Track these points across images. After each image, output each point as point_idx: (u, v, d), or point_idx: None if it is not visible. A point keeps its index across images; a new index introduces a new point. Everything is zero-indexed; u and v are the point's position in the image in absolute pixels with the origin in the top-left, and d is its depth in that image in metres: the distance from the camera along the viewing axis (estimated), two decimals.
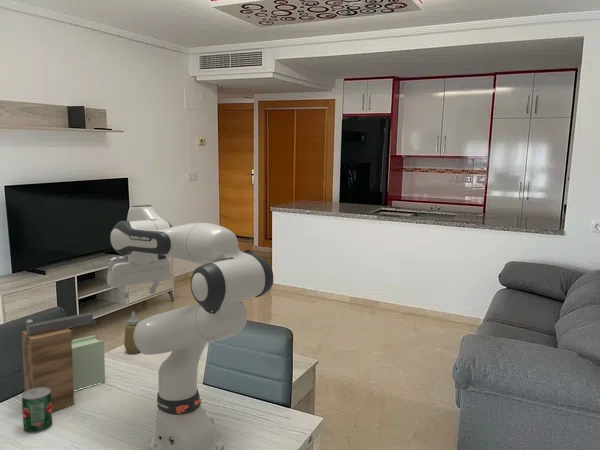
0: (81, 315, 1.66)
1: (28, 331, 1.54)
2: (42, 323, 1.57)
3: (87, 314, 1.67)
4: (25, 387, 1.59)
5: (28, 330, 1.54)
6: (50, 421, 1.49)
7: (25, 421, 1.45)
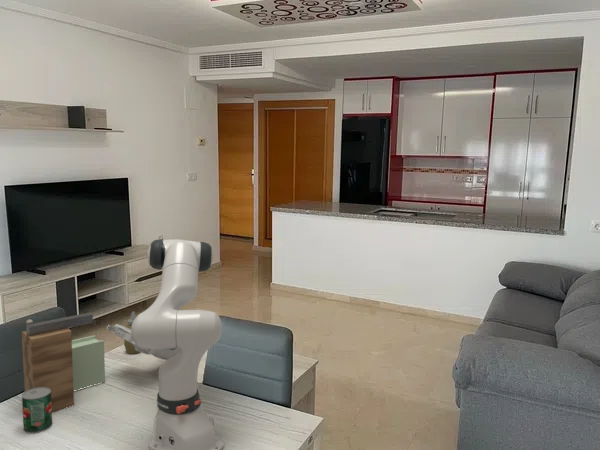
0: (81, 315, 1.66)
1: (28, 331, 1.54)
2: (42, 323, 1.57)
3: (87, 314, 1.67)
4: (25, 387, 1.59)
5: (28, 330, 1.54)
6: (50, 421, 1.49)
7: (25, 421, 1.45)
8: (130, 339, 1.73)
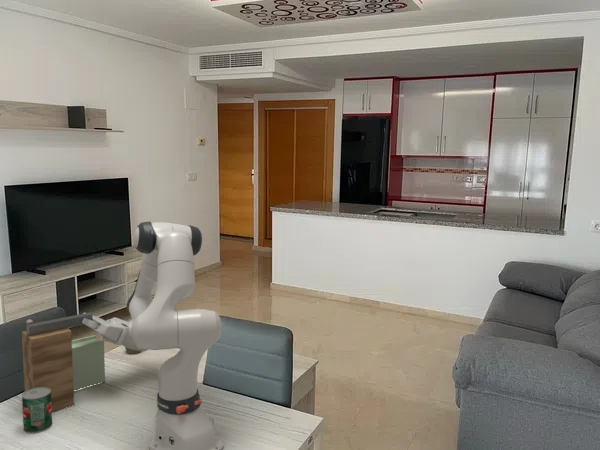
0: (81, 315, 1.66)
1: (28, 331, 1.54)
2: (42, 323, 1.57)
3: (87, 314, 1.67)
4: (25, 387, 1.59)
5: (28, 330, 1.54)
6: (50, 421, 1.49)
7: (25, 421, 1.45)
8: (93, 326, 1.66)
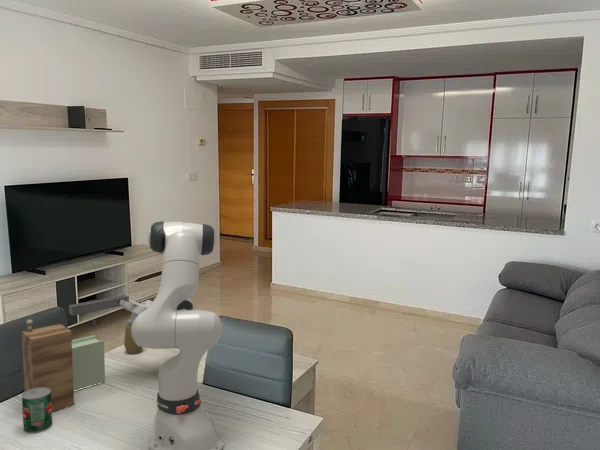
0: (118, 297, 1.75)
1: (71, 311, 1.63)
2: (84, 303, 1.66)
3: (124, 296, 1.76)
4: (25, 387, 1.59)
5: (71, 310, 1.63)
6: (50, 421, 1.49)
7: (25, 421, 1.45)
8: (130, 307, 1.75)
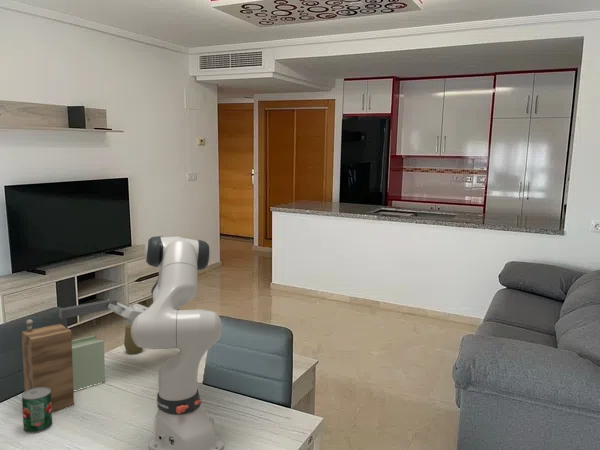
0: (107, 301, 1.81)
1: (60, 314, 1.70)
2: (73, 307, 1.73)
3: (112, 300, 1.83)
4: (25, 387, 1.59)
5: (60, 313, 1.69)
6: (50, 421, 1.49)
7: (25, 421, 1.45)
8: (118, 311, 1.81)
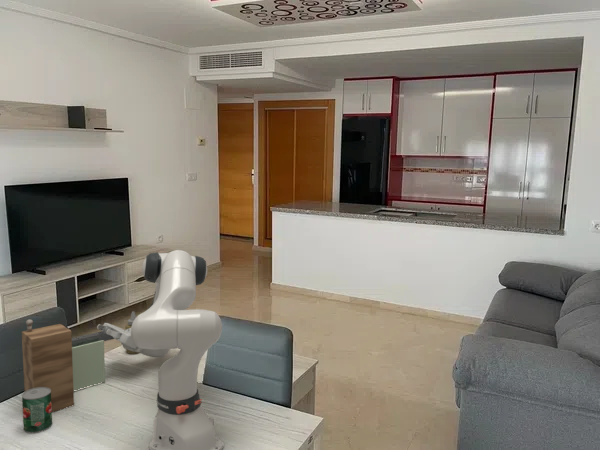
0: (104, 332, 1.82)
1: None
2: None
3: None
4: (25, 387, 1.59)
5: None
6: (50, 421, 1.49)
7: (25, 421, 1.45)
8: (116, 336, 1.80)
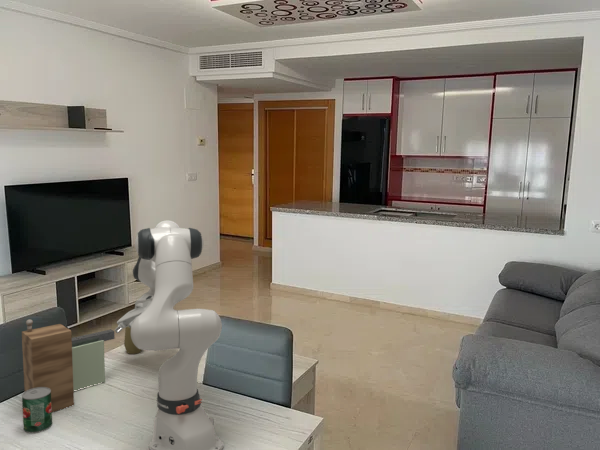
0: (104, 332, 1.82)
1: None
2: None
3: (109, 331, 1.83)
4: (25, 387, 1.59)
5: None
6: (50, 421, 1.49)
7: (25, 421, 1.45)
8: None
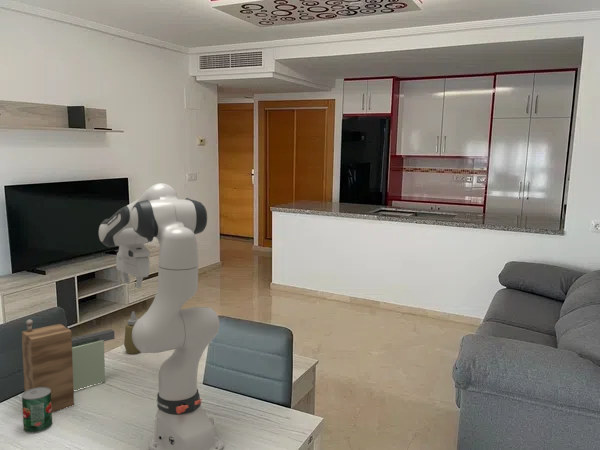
0: (104, 332, 1.82)
1: None
2: None
3: (109, 331, 1.83)
4: (25, 387, 1.59)
5: None
6: (50, 421, 1.49)
7: (25, 421, 1.45)
8: (141, 277, 1.80)
